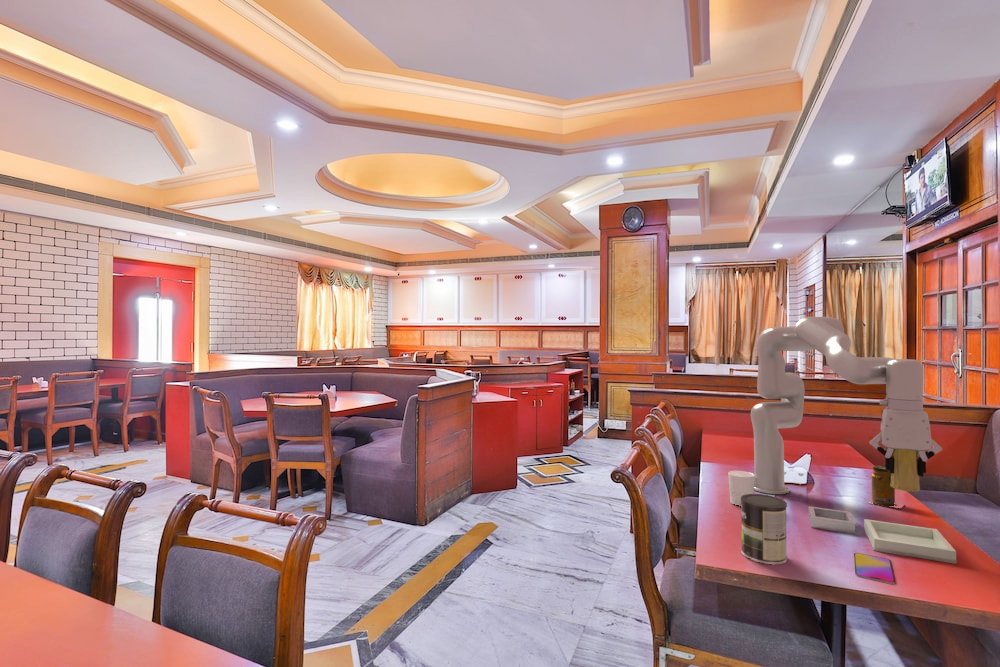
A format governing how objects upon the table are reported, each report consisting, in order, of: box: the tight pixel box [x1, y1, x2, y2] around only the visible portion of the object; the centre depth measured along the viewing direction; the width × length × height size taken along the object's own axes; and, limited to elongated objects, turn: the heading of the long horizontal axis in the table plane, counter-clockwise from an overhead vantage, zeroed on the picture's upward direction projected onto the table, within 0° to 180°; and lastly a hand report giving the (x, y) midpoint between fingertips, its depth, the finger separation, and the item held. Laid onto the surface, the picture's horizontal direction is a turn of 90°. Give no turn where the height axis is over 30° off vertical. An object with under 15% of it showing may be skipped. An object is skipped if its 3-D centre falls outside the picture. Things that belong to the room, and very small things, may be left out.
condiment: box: [867, 465, 902, 510], centre depth 163 cm, size 7×8×12 cm
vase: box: [890, 449, 921, 492], centre depth 131 cm, size 6×6×14 cm
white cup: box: [727, 470, 755, 507], centre depth 164 cm, size 8×8×10 cm
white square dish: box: [808, 506, 856, 535], centre depth 145 cm, size 10×10×3 cm
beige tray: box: [863, 518, 957, 565], centre depth 131 cm, size 16×16×3 cm
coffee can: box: [740, 493, 788, 566], centre depth 125 cm, size 10×10×14 cm
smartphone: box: [853, 552, 896, 585], centre depth 118 cm, size 7×1×15 cm
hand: (905, 473), depth 131 cm, fingers closed on vase, 5 cm apart
